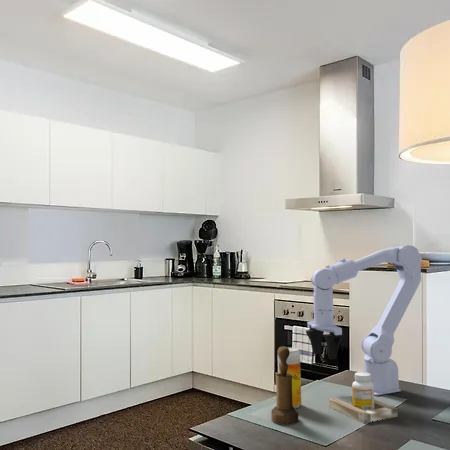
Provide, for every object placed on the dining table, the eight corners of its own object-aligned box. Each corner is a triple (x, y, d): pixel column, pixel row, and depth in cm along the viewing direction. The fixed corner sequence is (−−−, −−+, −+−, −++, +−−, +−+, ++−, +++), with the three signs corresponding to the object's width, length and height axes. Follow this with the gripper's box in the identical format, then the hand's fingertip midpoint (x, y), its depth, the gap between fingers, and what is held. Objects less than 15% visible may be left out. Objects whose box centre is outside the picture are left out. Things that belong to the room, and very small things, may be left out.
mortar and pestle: (268, 423, 119) (266, 348, 120) (275, 414, 125) (273, 343, 126) (295, 426, 117) (293, 349, 118) (300, 417, 123) (299, 344, 124)
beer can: (302, 409, 129) (301, 351, 130) (279, 409, 129) (278, 351, 130) (299, 402, 135) (298, 347, 136) (277, 402, 135) (276, 347, 136)
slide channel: (360, 401, 135) (360, 393, 135) (397, 416, 122) (397, 408, 122) (329, 406, 131) (328, 399, 131) (364, 423, 118) (363, 414, 118)
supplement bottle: (359, 407, 130) (358, 370, 130) (378, 411, 126) (377, 373, 127) (349, 412, 126) (347, 374, 126) (368, 417, 122) (367, 377, 123)
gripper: (298, 308, 150) (299, 352, 150) (327, 313, 137) (328, 362, 136) (317, 306, 153) (318, 350, 152) (347, 311, 140) (348, 360, 139)
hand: (324, 356), depth 145 cm, fingers open, 7 cm apart
